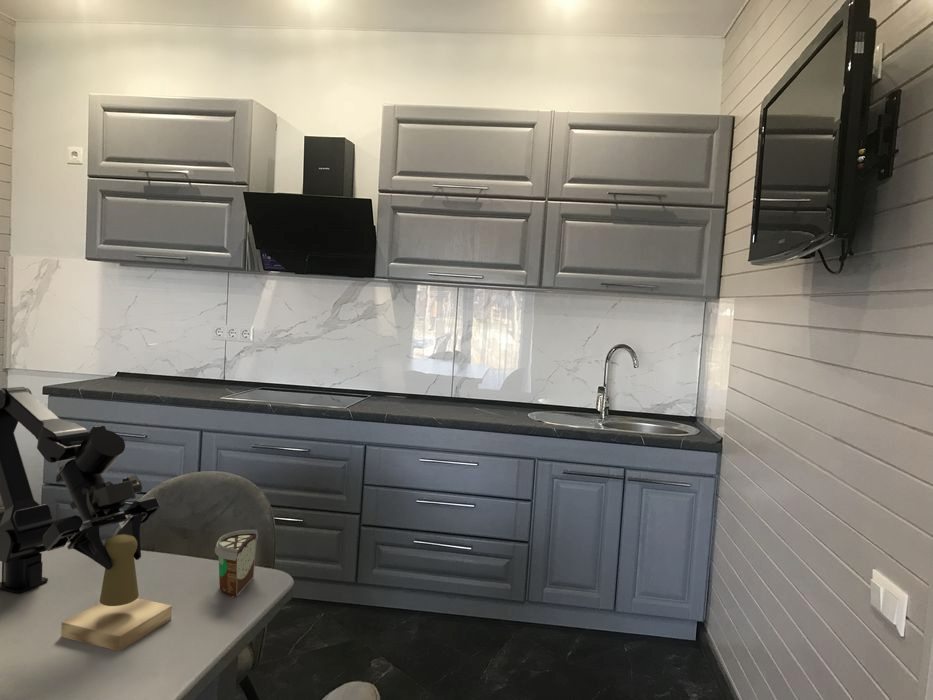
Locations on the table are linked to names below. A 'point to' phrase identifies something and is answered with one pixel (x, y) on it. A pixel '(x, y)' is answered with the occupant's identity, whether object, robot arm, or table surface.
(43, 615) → the table surface
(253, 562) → the food container
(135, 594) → the cork
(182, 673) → the table surface
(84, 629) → the oak board
